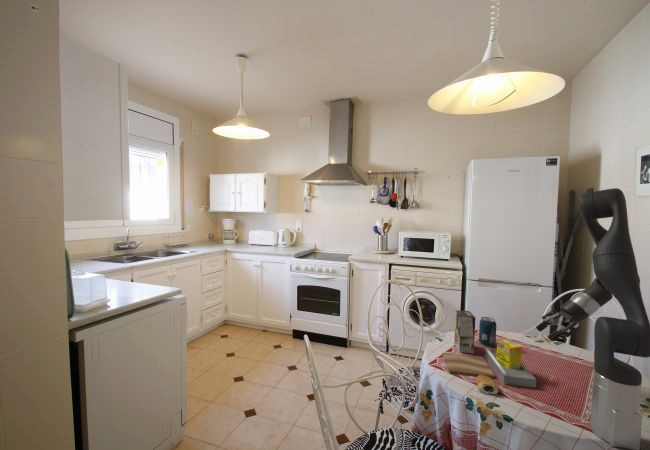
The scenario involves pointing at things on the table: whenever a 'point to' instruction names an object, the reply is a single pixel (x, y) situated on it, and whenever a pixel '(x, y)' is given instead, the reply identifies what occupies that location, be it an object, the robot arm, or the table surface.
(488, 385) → the pastry
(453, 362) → the tan flat board
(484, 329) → the soda can
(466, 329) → the coffee box
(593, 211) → the robot arm
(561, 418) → the table surface
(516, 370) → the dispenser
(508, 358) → the supplement box
